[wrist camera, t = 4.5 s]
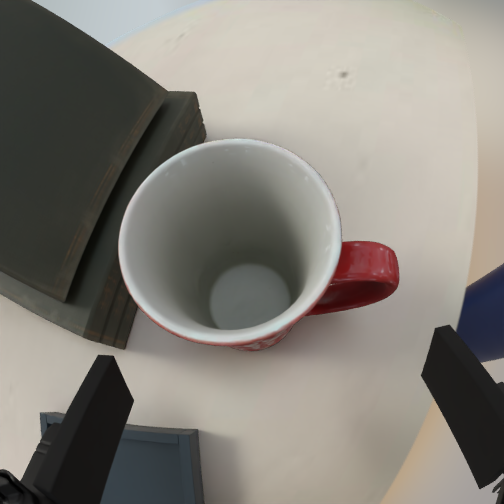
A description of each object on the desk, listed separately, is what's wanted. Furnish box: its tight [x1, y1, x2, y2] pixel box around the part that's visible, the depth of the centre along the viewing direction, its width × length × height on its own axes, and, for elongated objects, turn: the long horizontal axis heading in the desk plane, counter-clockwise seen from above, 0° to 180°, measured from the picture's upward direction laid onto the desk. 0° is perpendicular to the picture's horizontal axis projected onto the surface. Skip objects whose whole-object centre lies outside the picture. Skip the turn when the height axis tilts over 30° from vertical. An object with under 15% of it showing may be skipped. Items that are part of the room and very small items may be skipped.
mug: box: [118, 138, 399, 351], centre depth 18 cm, size 13×9×14 cm
